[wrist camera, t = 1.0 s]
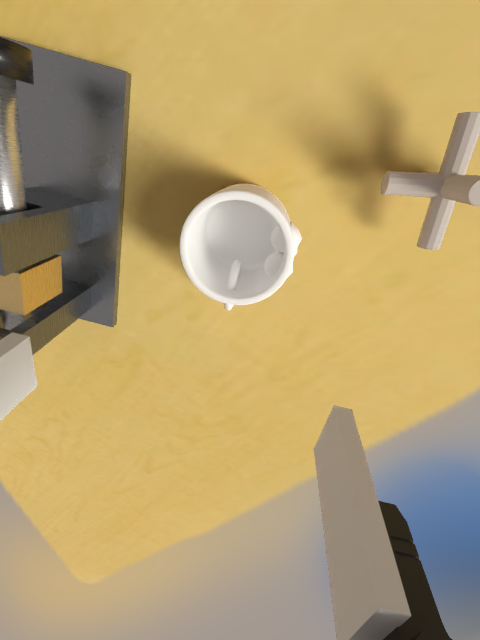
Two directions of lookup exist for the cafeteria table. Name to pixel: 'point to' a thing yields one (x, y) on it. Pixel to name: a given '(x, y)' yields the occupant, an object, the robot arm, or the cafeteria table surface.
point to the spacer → (31, 286)
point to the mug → (239, 245)
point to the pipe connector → (442, 181)
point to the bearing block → (70, 189)
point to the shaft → (12, 141)
